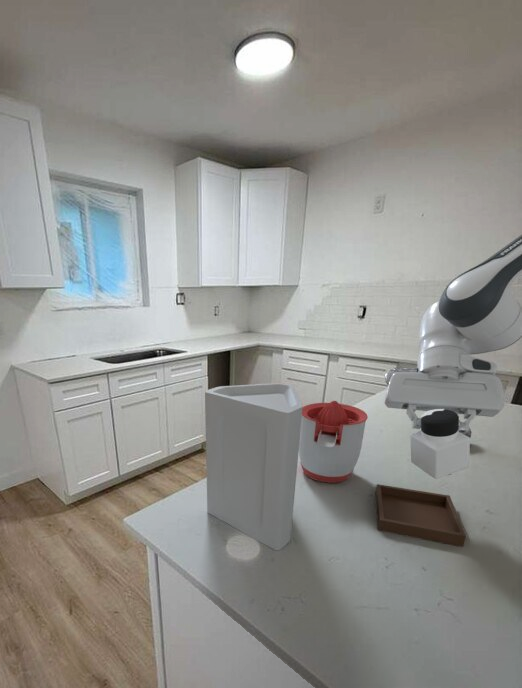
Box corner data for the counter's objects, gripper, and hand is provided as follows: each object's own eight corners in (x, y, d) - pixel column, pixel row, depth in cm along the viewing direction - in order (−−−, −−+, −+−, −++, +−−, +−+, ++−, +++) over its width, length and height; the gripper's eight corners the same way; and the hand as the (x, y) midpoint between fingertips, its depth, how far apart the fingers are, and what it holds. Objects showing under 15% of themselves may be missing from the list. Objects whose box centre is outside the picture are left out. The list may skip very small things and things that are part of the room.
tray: (446, 505, 81) (449, 495, 80) (463, 547, 68) (466, 536, 67) (374, 493, 86) (376, 484, 85) (377, 530, 73) (380, 519, 72)
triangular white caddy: (316, 517, 78) (331, 392, 67) (278, 551, 69) (288, 413, 58) (246, 485, 91) (249, 376, 80) (205, 511, 81) (202, 391, 70)
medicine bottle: (469, 468, 71) (472, 414, 65) (435, 480, 70) (436, 427, 65) (441, 451, 77) (442, 401, 72) (410, 462, 77) (408, 413, 71)
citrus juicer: (287, 484, 91) (293, 409, 83) (301, 455, 105) (307, 389, 97) (354, 497, 84) (368, 417, 77) (359, 464, 99) (370, 394, 91)
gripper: (389, 359, 77) (383, 417, 72) (507, 364, 69) (509, 429, 65) (384, 374, 82) (378, 429, 78) (493, 381, 75) (494, 442, 71)
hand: (439, 430), depth 71 cm, fingers closed on medicine bottle, 6 cm apart
